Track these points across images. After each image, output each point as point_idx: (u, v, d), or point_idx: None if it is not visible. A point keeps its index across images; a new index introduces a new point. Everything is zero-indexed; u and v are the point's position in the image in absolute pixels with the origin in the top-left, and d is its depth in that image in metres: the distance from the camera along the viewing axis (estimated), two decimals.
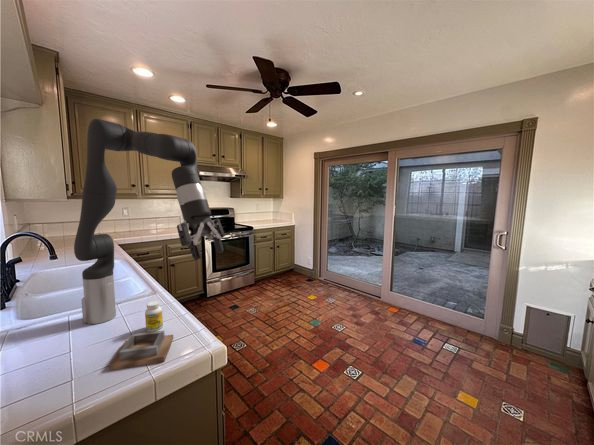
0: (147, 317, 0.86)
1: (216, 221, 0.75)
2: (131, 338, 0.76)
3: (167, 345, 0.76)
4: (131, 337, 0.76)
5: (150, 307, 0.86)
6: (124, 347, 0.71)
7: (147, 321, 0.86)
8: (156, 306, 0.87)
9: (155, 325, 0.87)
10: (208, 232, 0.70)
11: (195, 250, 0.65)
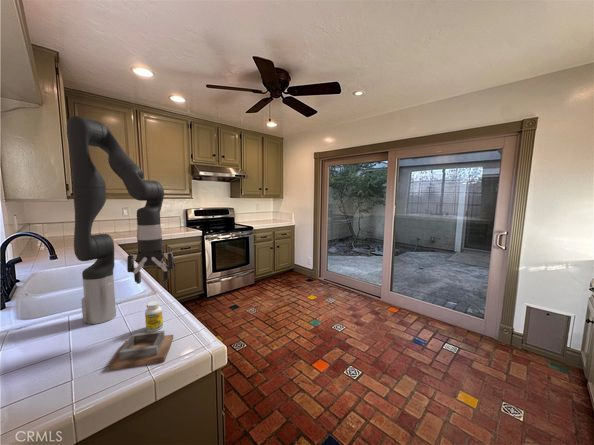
0: (147, 317, 0.86)
1: (167, 255, 0.87)
2: (131, 338, 0.76)
3: (167, 345, 0.76)
4: (131, 337, 0.76)
5: (150, 307, 0.86)
6: (124, 347, 0.71)
7: (147, 321, 0.86)
8: (156, 306, 0.87)
9: (155, 325, 0.87)
10: (153, 264, 0.86)
11: (135, 277, 0.85)
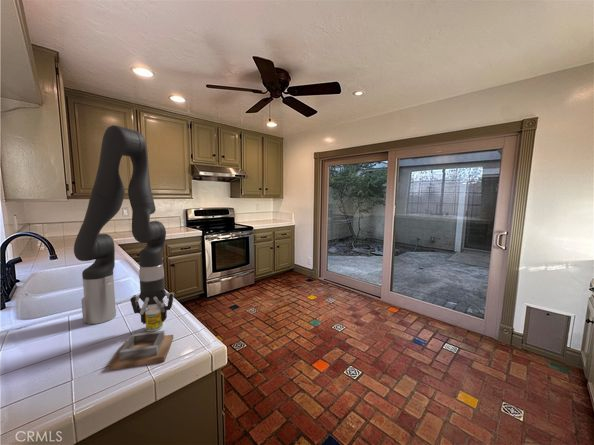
0: (147, 317, 0.86)
1: None
2: (131, 338, 0.76)
3: (167, 345, 0.76)
4: (131, 337, 0.76)
5: (150, 307, 0.86)
6: (124, 347, 0.71)
7: (147, 321, 0.86)
8: (156, 306, 0.87)
9: (155, 325, 0.87)
10: (153, 303, 0.87)
11: (141, 317, 0.87)
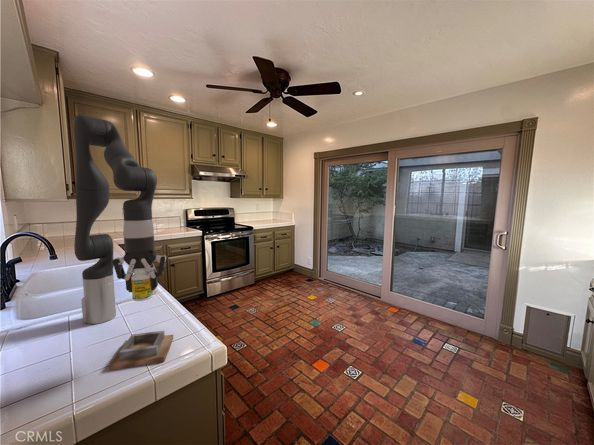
0: (133, 283, 0.71)
1: None
2: (131, 338, 0.76)
3: (167, 345, 0.76)
4: (131, 337, 0.76)
5: (137, 271, 0.71)
6: (124, 347, 0.71)
7: (133, 288, 0.71)
8: (144, 270, 0.72)
9: (143, 293, 0.71)
10: (141, 267, 0.72)
11: (127, 284, 0.72)
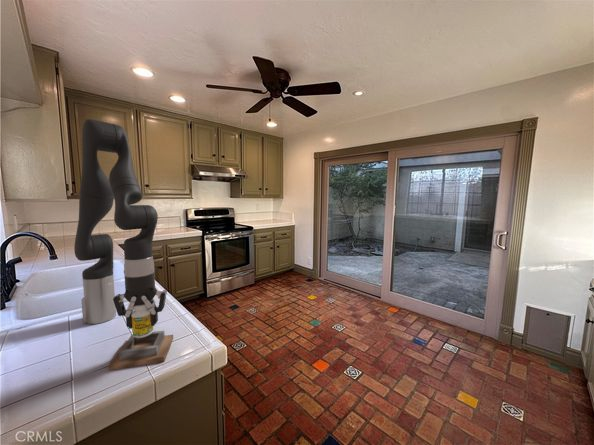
0: (134, 320, 0.71)
1: (160, 294, 0.74)
2: (131, 338, 0.76)
3: (167, 345, 0.76)
4: (131, 337, 0.76)
5: (137, 308, 0.71)
6: (124, 347, 0.71)
7: (134, 325, 0.72)
8: (145, 307, 0.72)
9: (143, 330, 0.72)
10: (141, 303, 0.72)
11: (127, 320, 0.72)
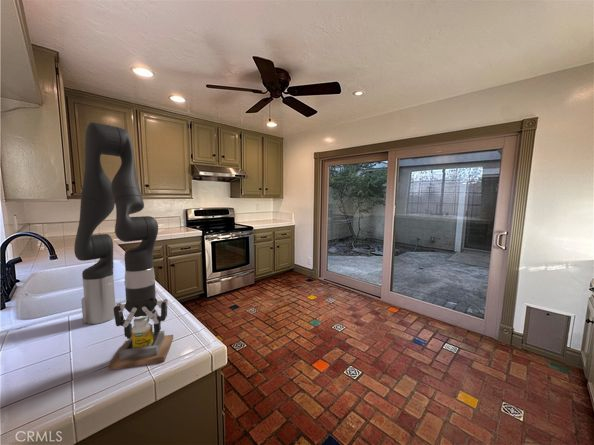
0: (134, 336, 0.72)
1: (161, 304, 0.74)
2: (131, 338, 0.76)
3: (167, 345, 0.76)
4: (131, 337, 0.76)
5: (137, 324, 0.72)
6: (124, 347, 0.71)
7: (134, 341, 0.72)
8: (145, 322, 0.73)
9: (143, 345, 0.72)
10: (143, 314, 0.73)
11: (125, 330, 0.72)
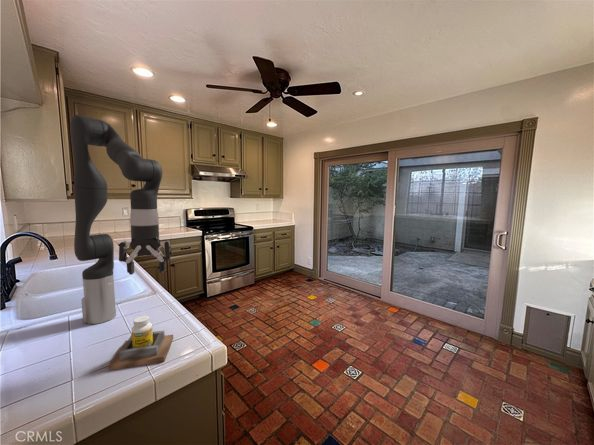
0: (134, 336, 0.72)
1: None
2: (131, 338, 0.76)
3: (167, 345, 0.76)
4: (131, 337, 0.76)
5: (137, 324, 0.72)
6: (124, 347, 0.71)
7: (134, 341, 0.72)
8: (145, 322, 0.73)
9: (143, 345, 0.72)
10: (148, 253, 0.77)
11: (128, 267, 0.76)
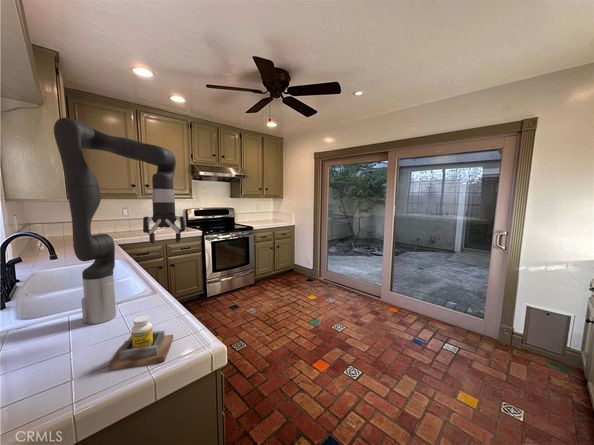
0: (134, 336, 0.72)
1: (180, 218, 0.94)
2: (131, 338, 0.76)
3: (167, 345, 0.76)
4: (131, 337, 0.76)
5: (137, 324, 0.72)
6: (124, 347, 0.71)
7: (134, 341, 0.72)
8: (145, 322, 0.73)
9: (143, 345, 0.72)
10: (167, 226, 0.93)
11: (150, 237, 0.92)
